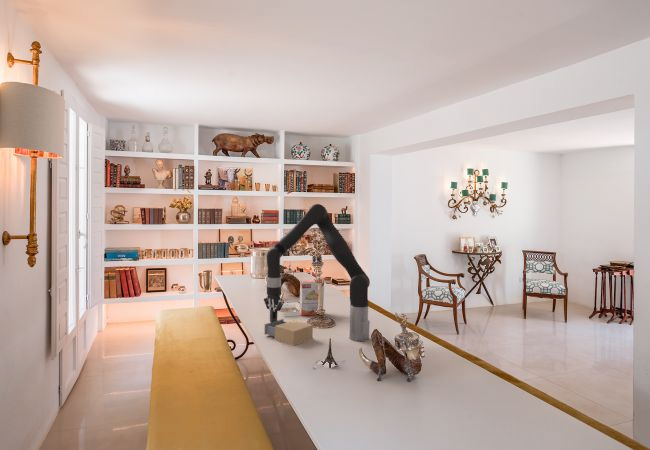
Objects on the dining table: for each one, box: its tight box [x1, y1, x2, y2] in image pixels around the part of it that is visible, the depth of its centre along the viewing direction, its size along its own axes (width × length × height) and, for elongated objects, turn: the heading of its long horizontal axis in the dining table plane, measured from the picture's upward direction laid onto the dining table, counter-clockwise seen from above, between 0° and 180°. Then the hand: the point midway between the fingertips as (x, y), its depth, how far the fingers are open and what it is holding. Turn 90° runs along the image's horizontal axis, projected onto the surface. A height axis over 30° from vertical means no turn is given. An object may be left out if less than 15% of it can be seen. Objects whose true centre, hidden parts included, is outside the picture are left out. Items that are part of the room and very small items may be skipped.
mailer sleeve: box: [274, 319, 314, 346], centre depth 215 cm, size 13×14×7 cm
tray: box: [263, 310, 288, 338], centre depth 221 cm, size 14×13×11 cm
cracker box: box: [299, 279, 325, 317], centre depth 262 cm, size 14×6×21 cm, turn 105°
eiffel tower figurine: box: [321, 337, 339, 369], centre depth 183 cm, size 15×10×13 cm
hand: (273, 317), depth 224 cm, fingers closed
